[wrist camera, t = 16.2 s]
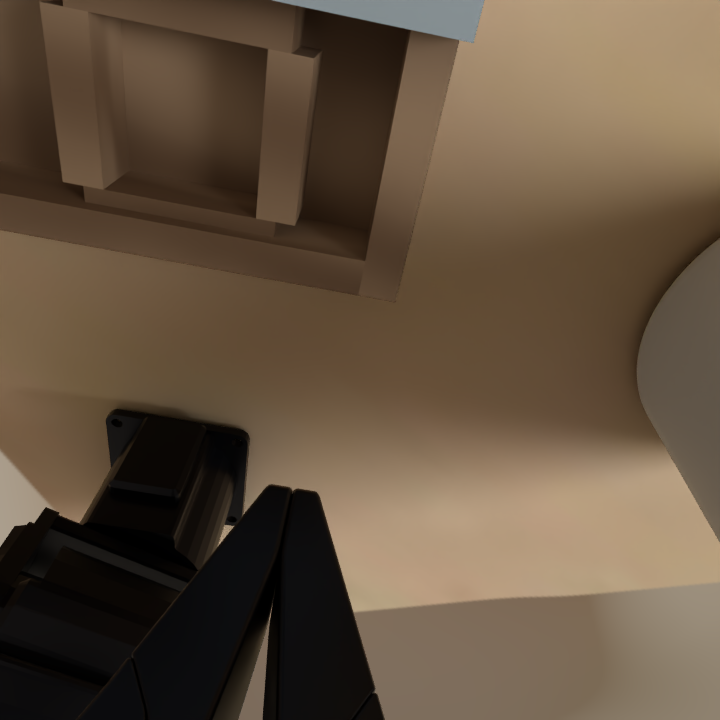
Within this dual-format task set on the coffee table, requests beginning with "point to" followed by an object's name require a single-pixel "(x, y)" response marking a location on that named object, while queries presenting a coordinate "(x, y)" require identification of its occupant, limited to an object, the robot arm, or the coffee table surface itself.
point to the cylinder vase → (687, 377)
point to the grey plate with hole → (409, 14)
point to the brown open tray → (220, 134)
